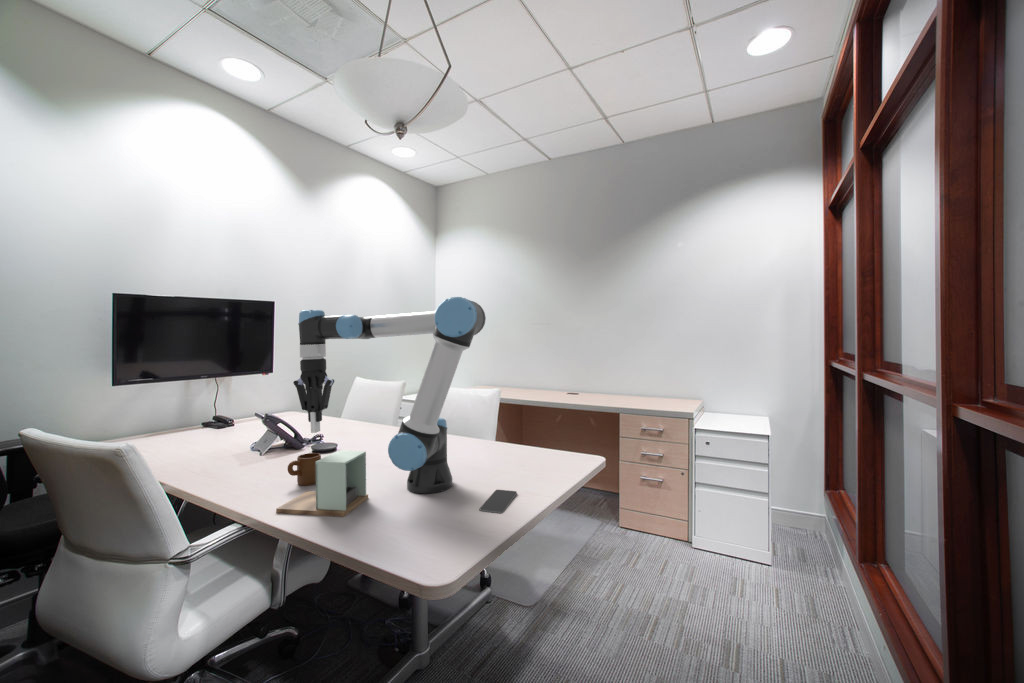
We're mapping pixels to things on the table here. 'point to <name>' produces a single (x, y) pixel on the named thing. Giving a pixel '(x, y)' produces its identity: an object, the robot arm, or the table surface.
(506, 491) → the smartphone
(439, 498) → the table surface
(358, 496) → the board
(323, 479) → the cover
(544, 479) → the table surface
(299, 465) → the mug
